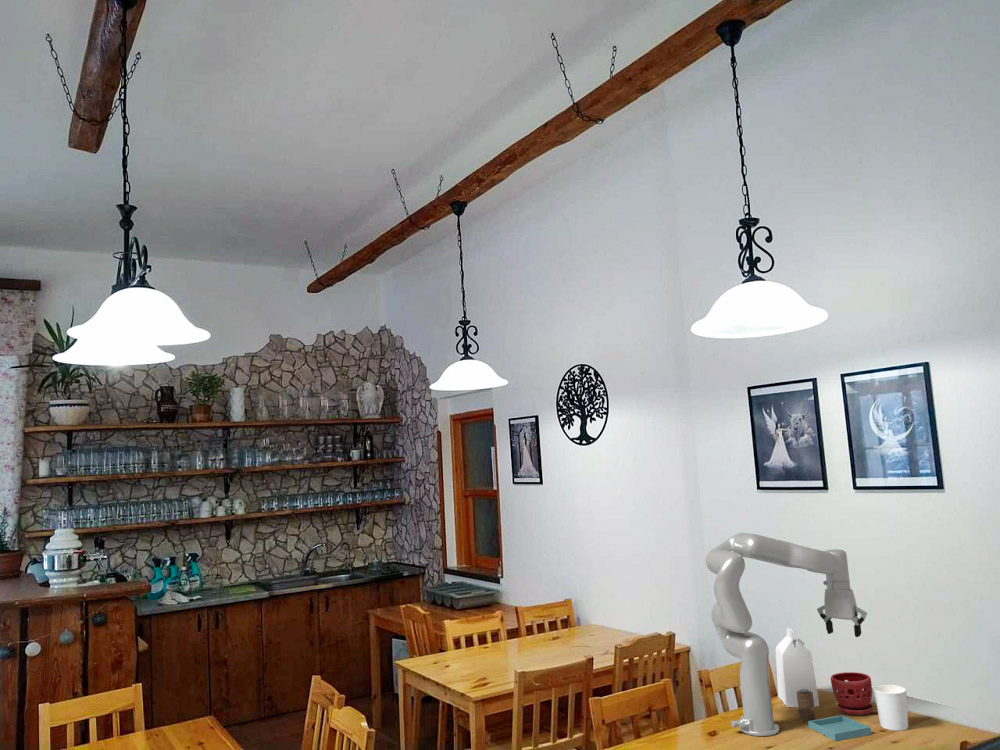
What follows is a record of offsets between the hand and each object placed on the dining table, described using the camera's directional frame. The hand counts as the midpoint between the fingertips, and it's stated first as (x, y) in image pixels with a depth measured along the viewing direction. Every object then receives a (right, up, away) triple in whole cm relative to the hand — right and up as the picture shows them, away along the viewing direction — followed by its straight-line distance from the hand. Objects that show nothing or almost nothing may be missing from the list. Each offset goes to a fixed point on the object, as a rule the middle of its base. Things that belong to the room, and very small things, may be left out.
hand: (844, 634), depth 274 cm
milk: (-11, -29, +12) cm, 34 cm away
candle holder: (+8, -24, -18) cm, 32 cm away
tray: (-10, -25, -19) cm, 33 cm away
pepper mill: (-15, -27, -6) cm, 32 cm away
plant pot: (+3, -27, -1) cm, 27 cm away
